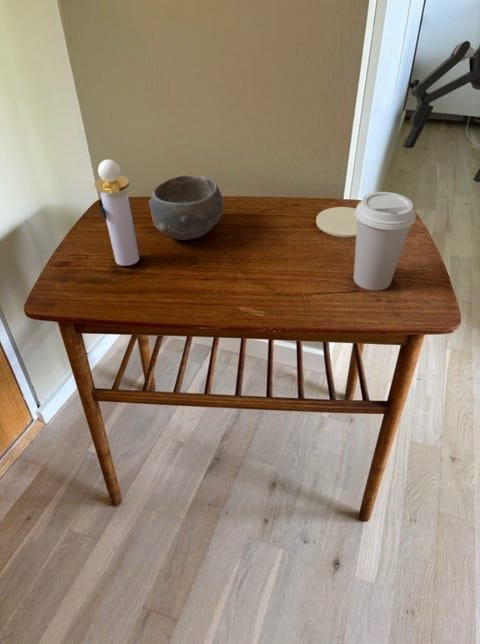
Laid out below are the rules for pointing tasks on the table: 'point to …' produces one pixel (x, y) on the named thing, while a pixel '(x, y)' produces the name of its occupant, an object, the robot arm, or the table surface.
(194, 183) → the bowl
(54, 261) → the table surface
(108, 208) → the perfume bottle
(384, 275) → the coffee cup
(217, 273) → the table surface
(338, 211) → the cream mat
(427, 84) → the robot arm
